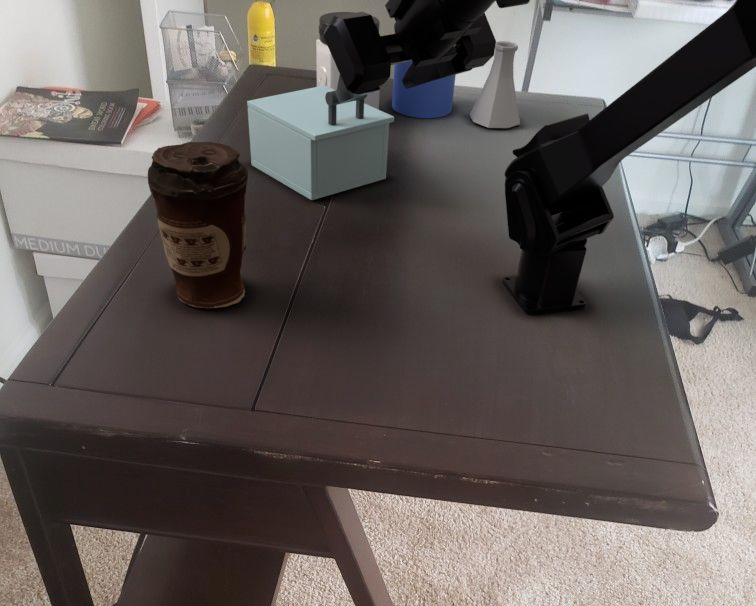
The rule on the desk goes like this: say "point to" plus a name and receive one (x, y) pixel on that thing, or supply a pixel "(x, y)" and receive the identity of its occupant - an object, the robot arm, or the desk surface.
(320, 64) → the jar
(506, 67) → the flask
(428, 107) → the water bottle
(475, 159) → the desk surface
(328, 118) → the lid
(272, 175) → the pale teal lidded box
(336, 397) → the desk surface
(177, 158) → the coffee cup
